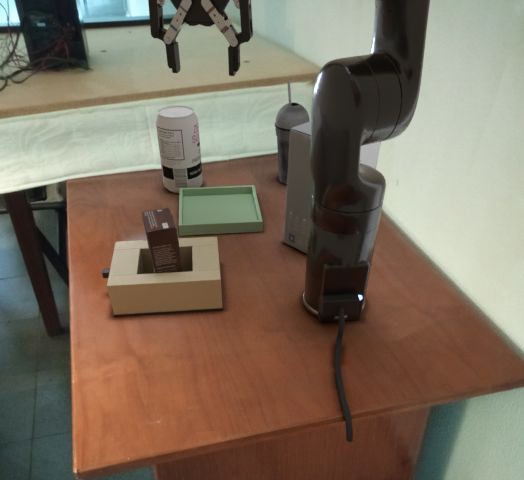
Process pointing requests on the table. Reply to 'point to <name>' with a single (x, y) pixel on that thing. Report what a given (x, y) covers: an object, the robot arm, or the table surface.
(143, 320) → the table surface
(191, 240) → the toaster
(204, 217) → the tray
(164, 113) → the supplement can
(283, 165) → the beverage cup
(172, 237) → the box
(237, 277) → the table surface
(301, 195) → the hard drive box
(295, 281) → the table surface
